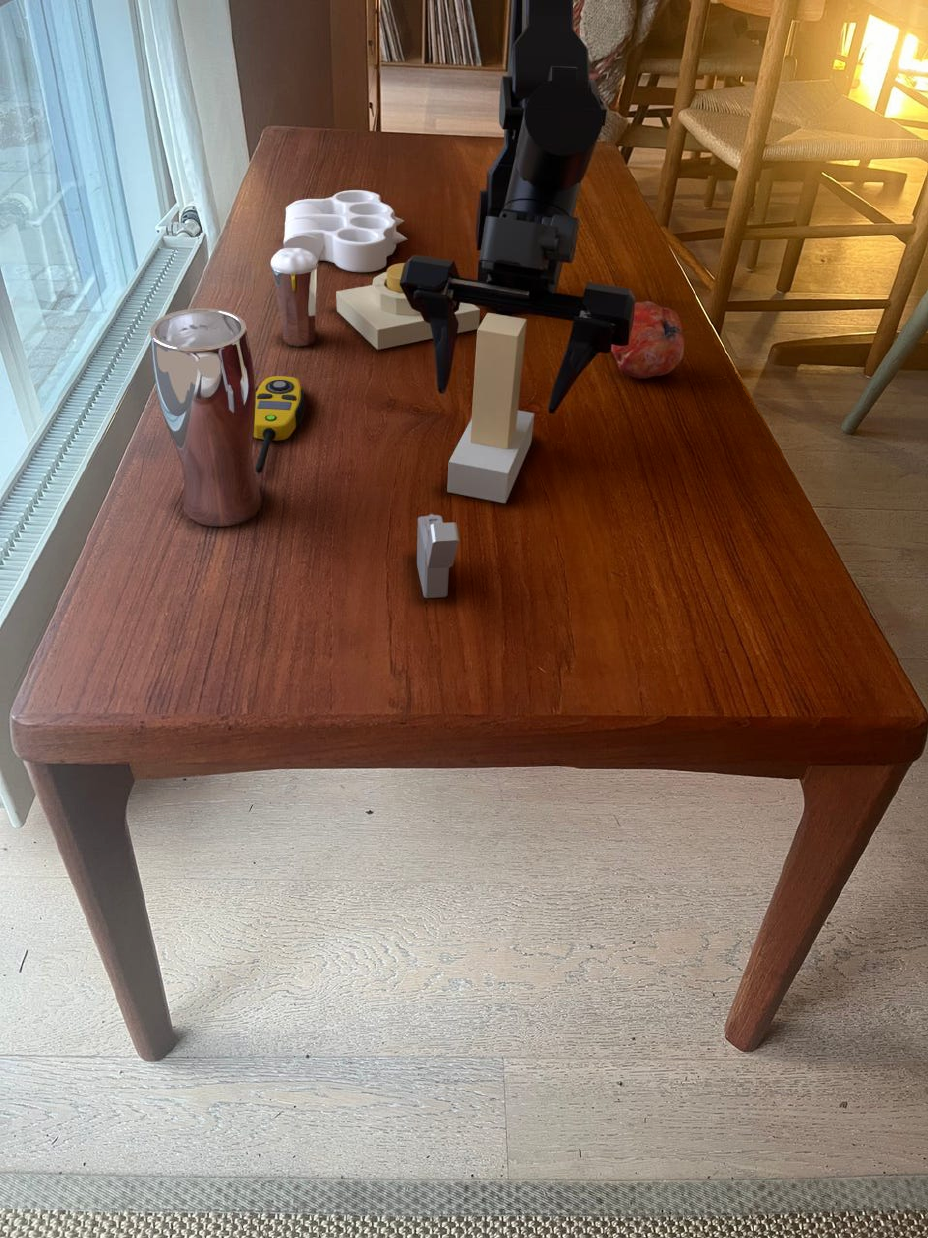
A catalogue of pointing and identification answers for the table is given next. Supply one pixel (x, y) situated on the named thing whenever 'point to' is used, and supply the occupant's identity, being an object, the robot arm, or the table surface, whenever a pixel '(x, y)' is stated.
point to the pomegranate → (651, 342)
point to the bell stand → (392, 315)
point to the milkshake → (296, 294)
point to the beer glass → (209, 410)
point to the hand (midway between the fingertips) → (495, 402)
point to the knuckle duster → (344, 229)
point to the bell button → (394, 277)
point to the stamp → (494, 415)
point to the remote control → (277, 411)
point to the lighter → (435, 554)
